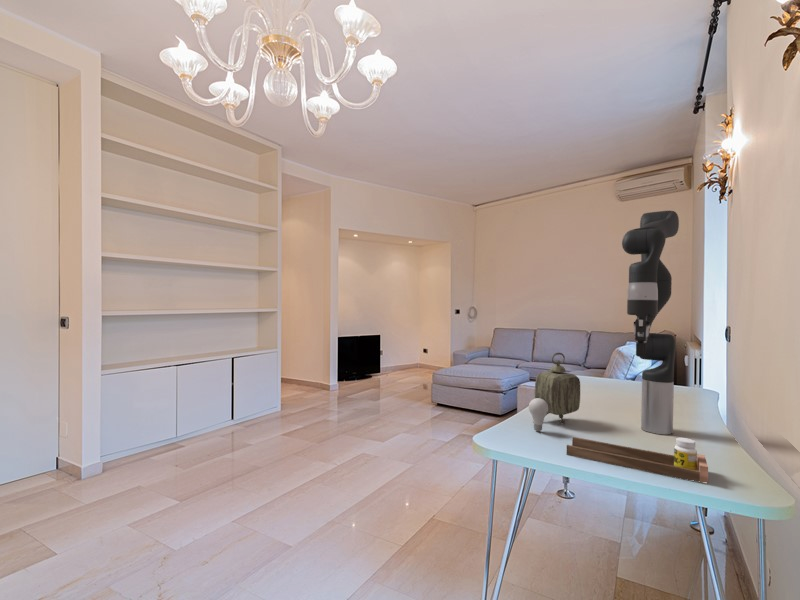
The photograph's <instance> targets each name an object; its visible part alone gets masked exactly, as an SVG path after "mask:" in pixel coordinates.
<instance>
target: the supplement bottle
mask: <svg viewBox="0 0 800 600" xmlns="http://www.w3.org/2000/svg"><path fill="white" fill-rule="evenodd" d="M673 447H674V448H673V455H674V466H678V467H683V468H688V469H693V470H697V454H698V450H697V449H696V440H694V439H690V438H687V437H676V440H675V445H674V446H673Z"/></svg>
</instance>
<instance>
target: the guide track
mask: <svg viewBox="0 0 800 600" xmlns="http://www.w3.org/2000/svg"><path fill="white" fill-rule="evenodd" d="M571 441H572V442H571V444H572V445H571V444H567V445H566V455H567V456H570V457H575V458H579V459H580V458H581V459H583V460H584V459H586V460H590V461H594V462H599V463H604V464H609V465H614V466H618V467H623V468H628V469H633V470H638V471H642V472H647V473H652V474H656V475H661V476H666V477H670V478H675V477H676V479H680V478H681V480H685V479H688V480H687V481H689V480H694V481H700V482H707V483H708V484H709V465H708V462H707V459H706V455H704V454H700V453H697V470H693V469H688V468H683V467H678V466H674V454H669V453H668V454H667V453H662V452H658V451H657V452H656V451H652V450H646V449H641V448H636V447H635V448H634V447H630V446H625V445H620V444H614V443H608V442H602V441H597V440H592V439H588V438H587V439H586V438H582V437H576V436H573V437H572V440H571ZM694 481H693V482H694Z"/></svg>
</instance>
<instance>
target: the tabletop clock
mask: <svg viewBox="0 0 800 600" xmlns="http://www.w3.org/2000/svg"><path fill="white" fill-rule="evenodd" d="M559 355H561V356H562V357H563V359H562V361H561V360H556V362H555V361H554V357H555V356H559ZM565 361H566V357H565V355H564V354H563V352H555V353H554V354H553V355H552V356H551V362H552V363H553V364H554V365H553V366H552V367H551V368H550V370H546V371H541V372H539V373H537V375H536V378H535V382H534V384H535V385H534V399H535V398H540V399H543V400H544V401H545V402H546V403H547V405H548V412H547V414H546V416H548V415H549V414H551V415H552V414H553V415H555V416H558V418H559V419H560V421H559V422H560V424H561V425H564V424H565V423H566V421H565V419H564V415H568V414H572V413H575V412H577V411H579V409H580V403H581V380H580V378H579V377H578V376H577V375H576V374H574V373H569V372H567V370H566V368H565V367H564V366H562V364H563V363H564V362H565Z"/></svg>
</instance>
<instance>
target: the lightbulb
mask: <svg viewBox="0 0 800 600" xmlns="http://www.w3.org/2000/svg"><path fill="white" fill-rule="evenodd" d="M528 409H529V410H528V411H529V412H530V414H531V417H532V423H533V428H534V429H533V430H534V431H536V432H537V433H539V432H541V431H543V425H544V421H545V417H546V416H547V415H548V414H547V412H548V405H547V403H546V402H545V401H544V400H543V399H540V398H535V397H534V398H533V399H531V400H530V401H529V404H528ZM546 414H547V415H546Z"/></svg>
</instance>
